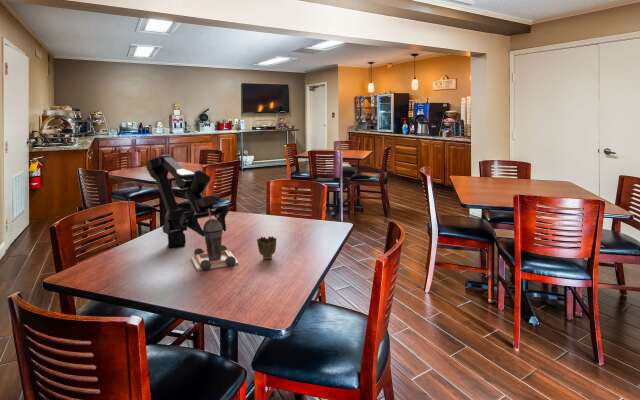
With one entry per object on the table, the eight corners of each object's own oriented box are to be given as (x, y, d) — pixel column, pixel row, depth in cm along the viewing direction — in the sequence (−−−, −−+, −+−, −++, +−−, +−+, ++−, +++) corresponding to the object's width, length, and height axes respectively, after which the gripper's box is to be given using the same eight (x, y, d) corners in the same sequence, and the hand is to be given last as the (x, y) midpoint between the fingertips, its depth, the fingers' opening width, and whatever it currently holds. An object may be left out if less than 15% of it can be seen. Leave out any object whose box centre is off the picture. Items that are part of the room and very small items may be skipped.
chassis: (197, 271, 148) (196, 262, 147) (191, 258, 163) (190, 249, 162) (239, 265, 154) (238, 255, 153) (229, 252, 169) (229, 243, 168)
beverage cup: (228, 258, 159) (225, 206, 155) (214, 263, 153) (210, 210, 149) (215, 254, 163) (212, 204, 159) (200, 260, 157) (196, 208, 153)
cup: (277, 255, 164) (277, 235, 163) (276, 261, 157) (275, 241, 155) (258, 255, 164) (257, 236, 162) (256, 262, 157) (255, 241, 155)
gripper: (180, 190, 149) (198, 225, 143) (225, 184, 162) (243, 216, 156) (172, 208, 156) (189, 243, 150) (216, 201, 169) (233, 232, 163)
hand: (214, 233), depth 155 cm, fingers open, 9 cm apart
